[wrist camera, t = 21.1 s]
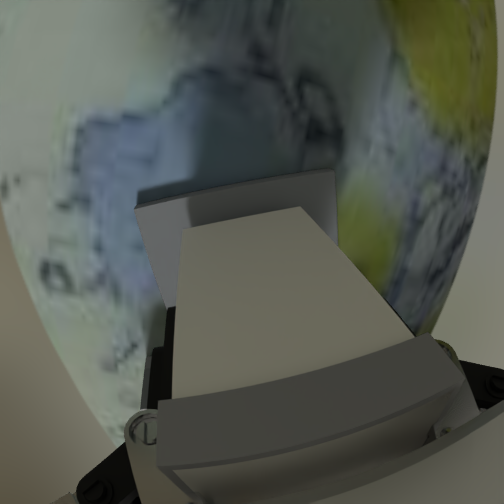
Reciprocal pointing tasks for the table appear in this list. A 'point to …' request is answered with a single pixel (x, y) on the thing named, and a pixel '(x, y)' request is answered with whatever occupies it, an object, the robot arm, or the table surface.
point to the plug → (288, 365)
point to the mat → (229, 215)
